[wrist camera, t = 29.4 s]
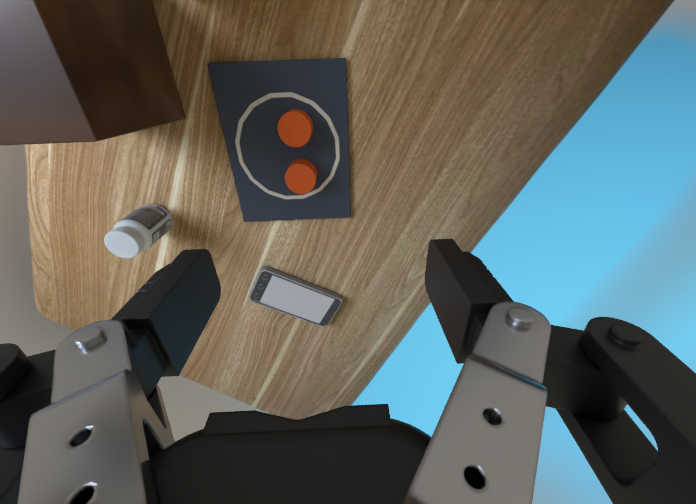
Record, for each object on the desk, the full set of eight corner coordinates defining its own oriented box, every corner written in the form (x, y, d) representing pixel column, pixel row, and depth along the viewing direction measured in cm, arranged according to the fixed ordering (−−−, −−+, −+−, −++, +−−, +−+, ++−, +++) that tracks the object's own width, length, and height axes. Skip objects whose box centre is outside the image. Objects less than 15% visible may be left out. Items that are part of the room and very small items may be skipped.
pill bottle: (132, 207, 43) (91, 233, 36) (161, 199, 42) (125, 223, 35) (151, 235, 45) (116, 264, 38) (179, 227, 45) (149, 256, 37)
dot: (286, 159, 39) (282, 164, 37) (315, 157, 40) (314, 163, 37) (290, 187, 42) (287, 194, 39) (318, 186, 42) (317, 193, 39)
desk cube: (59, -15, 30) (-170, -93, 17) (146, -18, 31) (-10, -98, 17) (114, 121, 37) (-18, 146, 23) (186, 118, 37) (97, 141, 23)
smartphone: (262, 268, 47) (344, 300, 51) (263, 264, 48) (343, 296, 52) (247, 300, 51) (325, 328, 55) (249, 296, 52) (325, 323, 56)
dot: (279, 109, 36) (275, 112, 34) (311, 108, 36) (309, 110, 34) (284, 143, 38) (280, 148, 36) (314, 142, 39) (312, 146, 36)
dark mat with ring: (209, 63, 34) (206, 63, 34) (345, 58, 34) (345, 58, 34) (245, 220, 44) (244, 222, 44) (350, 215, 45) (350, 217, 44)
